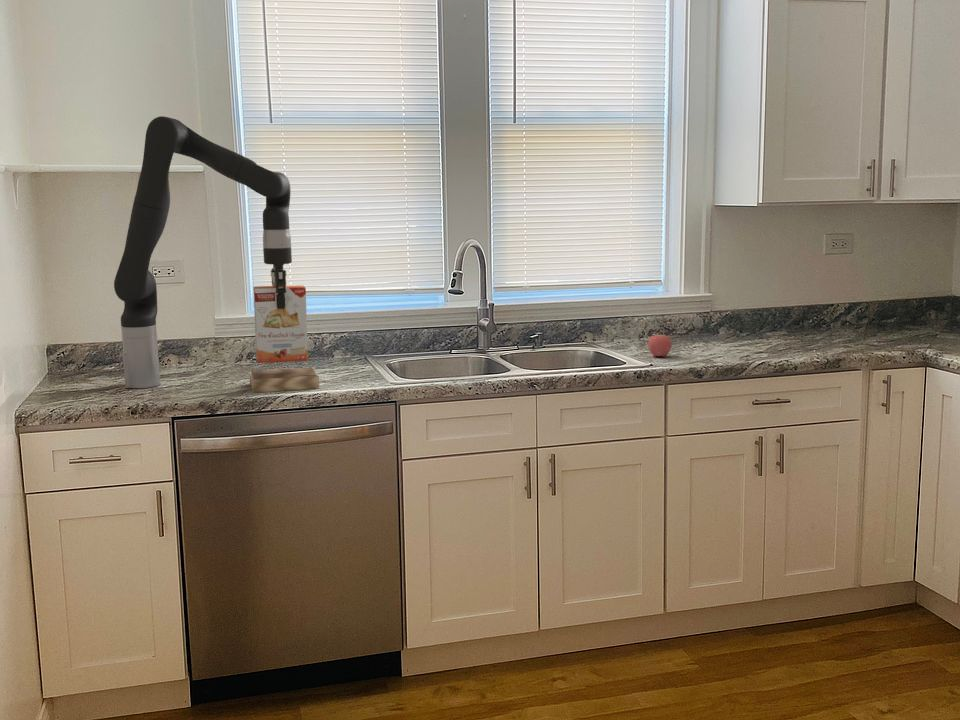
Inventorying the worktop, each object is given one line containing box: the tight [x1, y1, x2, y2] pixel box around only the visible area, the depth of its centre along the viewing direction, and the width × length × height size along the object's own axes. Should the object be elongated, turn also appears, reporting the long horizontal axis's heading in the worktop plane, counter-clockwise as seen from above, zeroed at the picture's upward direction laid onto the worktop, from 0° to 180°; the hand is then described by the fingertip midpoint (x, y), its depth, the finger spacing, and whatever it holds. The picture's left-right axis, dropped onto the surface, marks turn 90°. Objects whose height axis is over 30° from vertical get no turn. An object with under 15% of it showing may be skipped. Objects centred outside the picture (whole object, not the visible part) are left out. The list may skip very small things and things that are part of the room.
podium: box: [249, 366, 320, 394], centre depth 259 cm, size 18×13×4 cm
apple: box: [647, 332, 673, 357], centre depth 298 cm, size 7×7×8 cm
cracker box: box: [252, 284, 309, 364], centre depth 256 cm, size 14×6×21 cm, turn 106°
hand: (280, 307), depth 255 cm, fingers closed on cracker box, 6 cm apart
